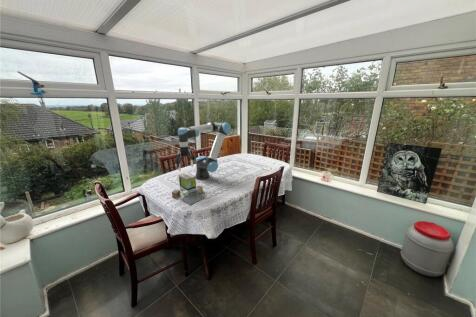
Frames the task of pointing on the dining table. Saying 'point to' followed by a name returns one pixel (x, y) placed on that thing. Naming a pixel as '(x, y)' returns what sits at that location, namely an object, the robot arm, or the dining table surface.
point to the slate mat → (192, 198)
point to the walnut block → (176, 193)
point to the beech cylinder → (200, 189)
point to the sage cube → (185, 193)
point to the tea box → (187, 182)
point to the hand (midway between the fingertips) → (186, 168)
